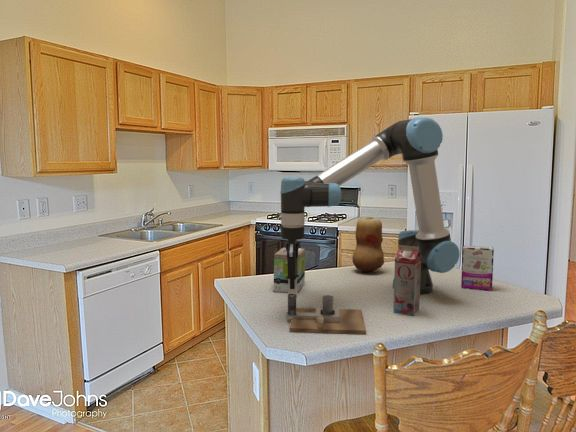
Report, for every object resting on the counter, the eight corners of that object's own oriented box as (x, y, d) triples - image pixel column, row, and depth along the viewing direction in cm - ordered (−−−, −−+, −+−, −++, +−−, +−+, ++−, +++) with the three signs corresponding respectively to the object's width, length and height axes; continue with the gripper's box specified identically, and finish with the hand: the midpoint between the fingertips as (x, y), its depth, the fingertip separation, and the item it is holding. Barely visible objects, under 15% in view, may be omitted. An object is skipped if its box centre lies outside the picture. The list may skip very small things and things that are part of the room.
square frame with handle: (339, 314, 137) (339, 292, 136) (339, 322, 130) (339, 299, 129) (288, 312, 138) (287, 291, 137) (285, 320, 131) (285, 298, 130)
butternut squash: (354, 275, 189) (355, 219, 186) (350, 268, 202) (351, 215, 199) (386, 275, 189) (388, 218, 186) (380, 268, 202) (381, 215, 199)
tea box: (298, 293, 163) (298, 255, 162) (273, 292, 165) (272, 254, 164) (305, 282, 178) (305, 247, 176) (281, 281, 180) (281, 246, 178)
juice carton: (413, 316, 139) (416, 248, 136) (393, 312, 142) (395, 246, 139) (419, 310, 144) (421, 245, 142) (399, 306, 148) (401, 243, 145)
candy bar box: (491, 287, 170) (493, 246, 168) (492, 291, 165) (494, 249, 163) (460, 285, 174) (462, 244, 172) (460, 288, 170) (462, 247, 168)
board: (361, 313, 142) (361, 289, 141) (366, 334, 124) (366, 307, 123) (294, 311, 144) (294, 287, 143) (289, 332, 126) (289, 305, 125)
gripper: (283, 223, 145) (283, 291, 148) (278, 228, 132) (278, 303, 135) (305, 223, 144) (305, 292, 147) (303, 229, 131) (302, 304, 134)
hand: (292, 297), depth 141 cm, fingers closed
